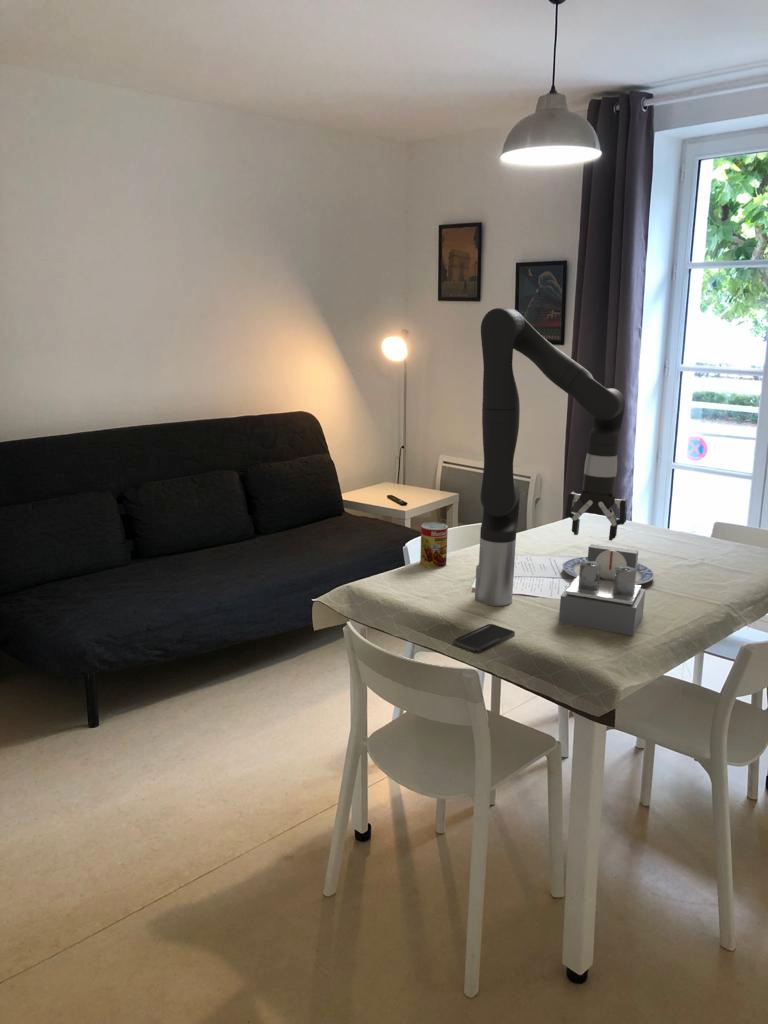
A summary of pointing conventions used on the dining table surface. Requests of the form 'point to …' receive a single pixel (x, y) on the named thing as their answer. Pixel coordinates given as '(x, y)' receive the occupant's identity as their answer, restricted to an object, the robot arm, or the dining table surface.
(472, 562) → the dining table surface
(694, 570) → the dining table surface
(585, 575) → the cylinder
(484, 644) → the phone
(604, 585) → the scale pan
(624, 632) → the scale
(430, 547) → the canned food
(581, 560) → the ceramic plate
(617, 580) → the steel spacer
